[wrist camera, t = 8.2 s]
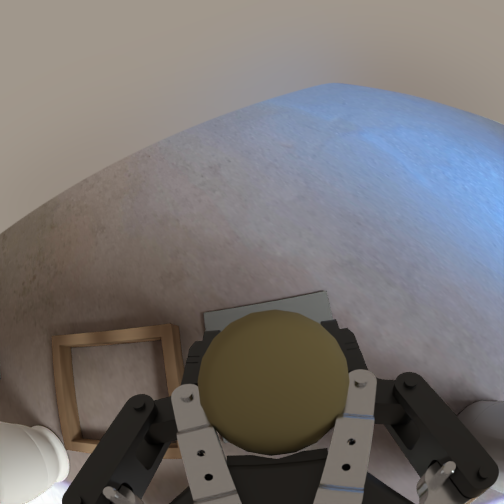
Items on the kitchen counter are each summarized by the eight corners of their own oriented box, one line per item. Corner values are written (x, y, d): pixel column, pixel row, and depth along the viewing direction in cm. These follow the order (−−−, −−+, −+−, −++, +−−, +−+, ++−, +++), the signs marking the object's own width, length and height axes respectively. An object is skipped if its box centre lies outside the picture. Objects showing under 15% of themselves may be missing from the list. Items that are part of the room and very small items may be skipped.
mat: (325, 291, 32) (326, 290, 31) (350, 419, 27) (351, 420, 26) (204, 313, 32) (203, 312, 32) (224, 441, 27) (223, 442, 27)
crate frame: (178, 326, 32) (171, 323, 29) (198, 452, 27) (191, 458, 24) (63, 338, 32) (51, 335, 30) (77, 446, 27) (65, 449, 25)
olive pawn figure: (334, 344, 19) (396, 318, 9) (304, 430, 17) (333, 497, 7) (246, 317, 20) (213, 262, 10) (215, 401, 18) (147, 435, 8)
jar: (51, 496, 24) (-22, 521, 10) (13, 436, 27) (-64, 440, 13) (90, 472, 26) (8, 502, 12) (46, 404, 29) (-42, 404, 15)
